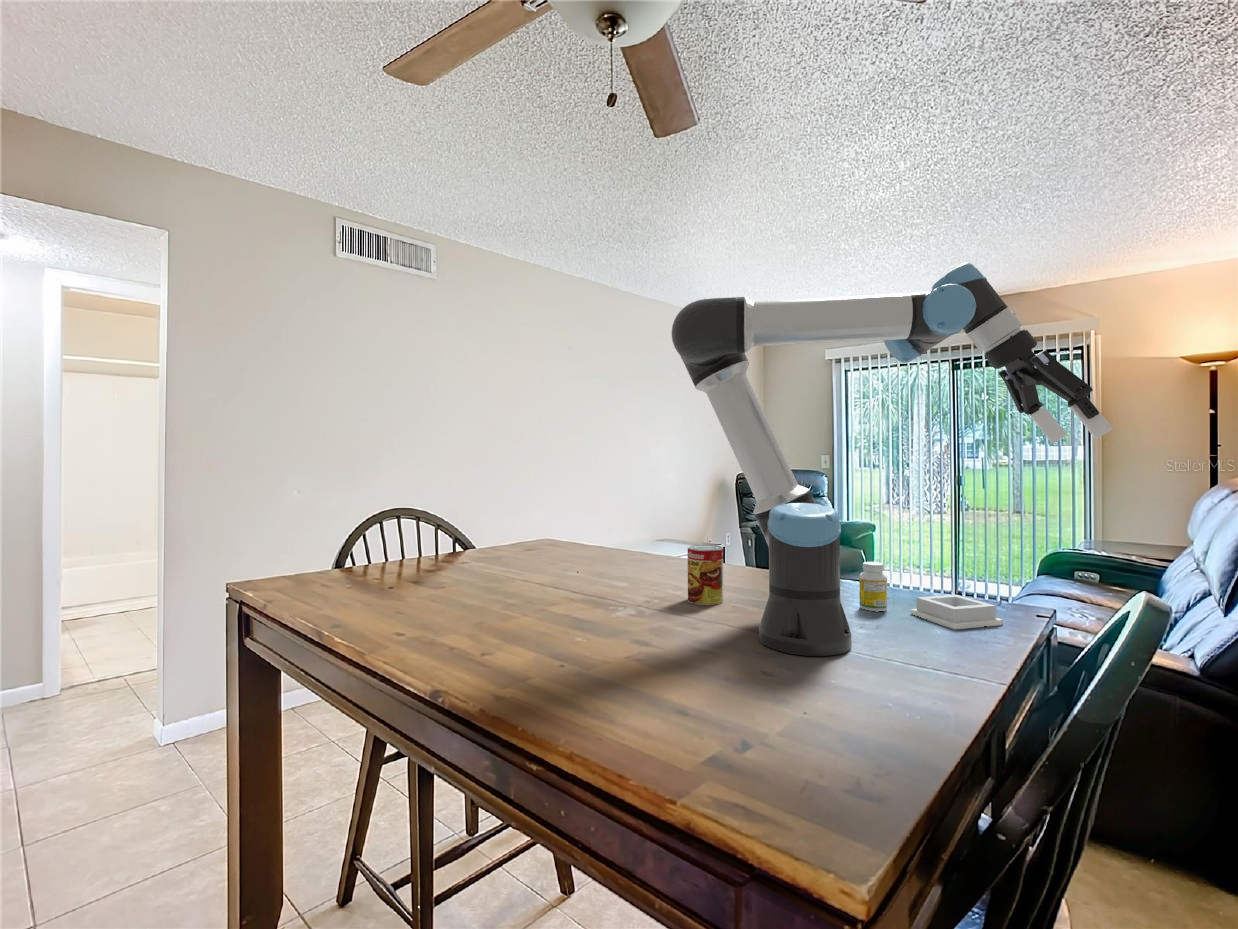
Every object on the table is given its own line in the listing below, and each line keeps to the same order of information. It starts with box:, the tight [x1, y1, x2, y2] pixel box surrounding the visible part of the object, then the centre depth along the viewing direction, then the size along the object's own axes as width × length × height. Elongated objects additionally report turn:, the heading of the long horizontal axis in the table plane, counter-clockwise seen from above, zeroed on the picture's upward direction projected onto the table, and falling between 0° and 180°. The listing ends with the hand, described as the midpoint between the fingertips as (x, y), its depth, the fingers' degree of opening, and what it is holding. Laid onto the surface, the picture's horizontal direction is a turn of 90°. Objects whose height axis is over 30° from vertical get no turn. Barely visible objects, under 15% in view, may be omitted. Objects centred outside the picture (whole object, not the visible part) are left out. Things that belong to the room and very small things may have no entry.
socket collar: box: [910, 594, 1004, 630], centre depth 113 cm, size 11×11×4 cm
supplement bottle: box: [859, 561, 888, 613], centre depth 122 cm, size 5×5×10 cm
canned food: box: [687, 544, 724, 606], centre depth 130 cm, size 8×8×12 cm
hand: (1080, 436), depth 101 cm, fingers open, 13 cm apart
